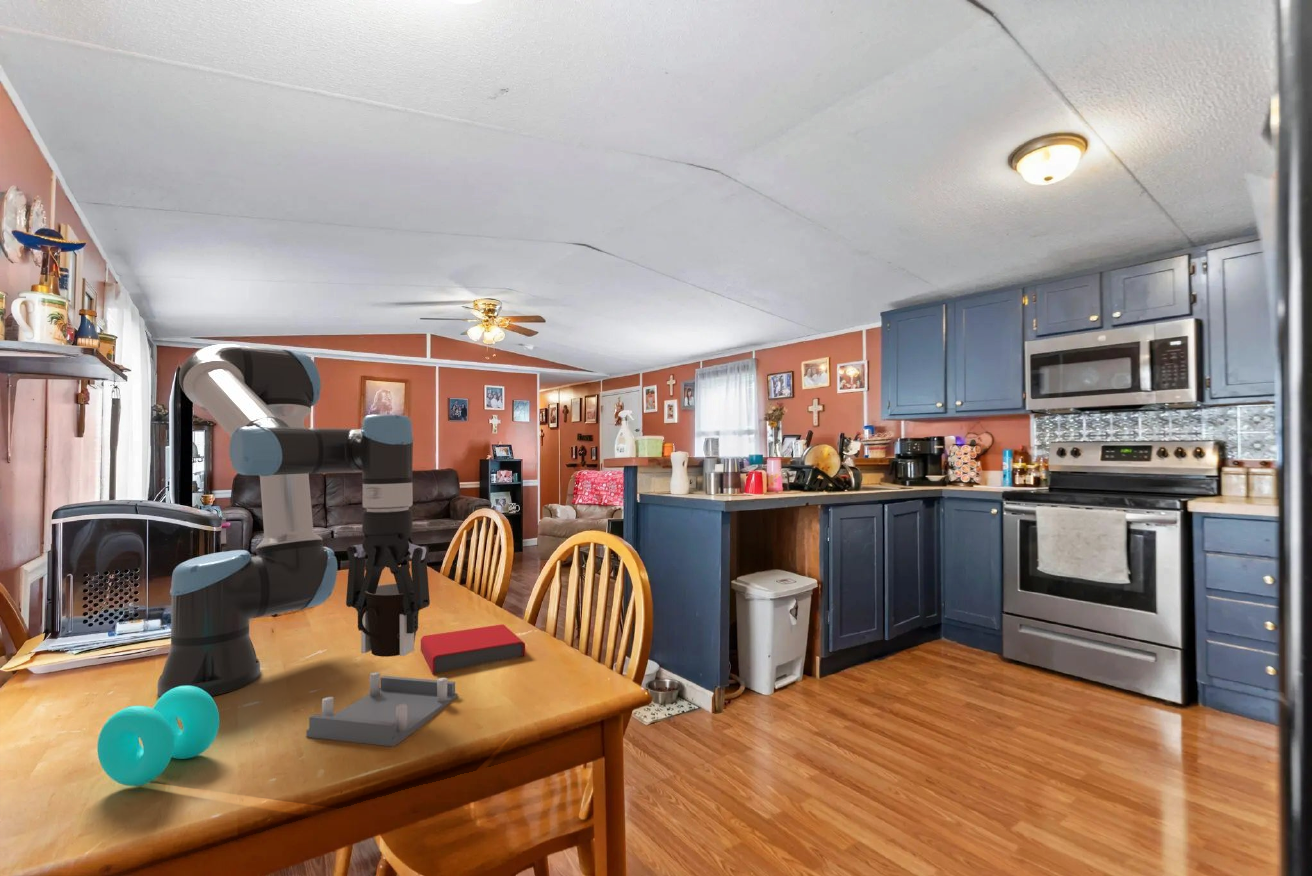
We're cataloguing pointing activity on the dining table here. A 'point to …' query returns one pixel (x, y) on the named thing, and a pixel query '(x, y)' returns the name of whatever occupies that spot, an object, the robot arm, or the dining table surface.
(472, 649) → the red device housing
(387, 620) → the coffee mug
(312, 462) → the robot arm
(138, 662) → the dining table surface
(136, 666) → the dining table surface
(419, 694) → the pin tray
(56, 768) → the dining table surface
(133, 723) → the donuts
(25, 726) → the dining table surface
